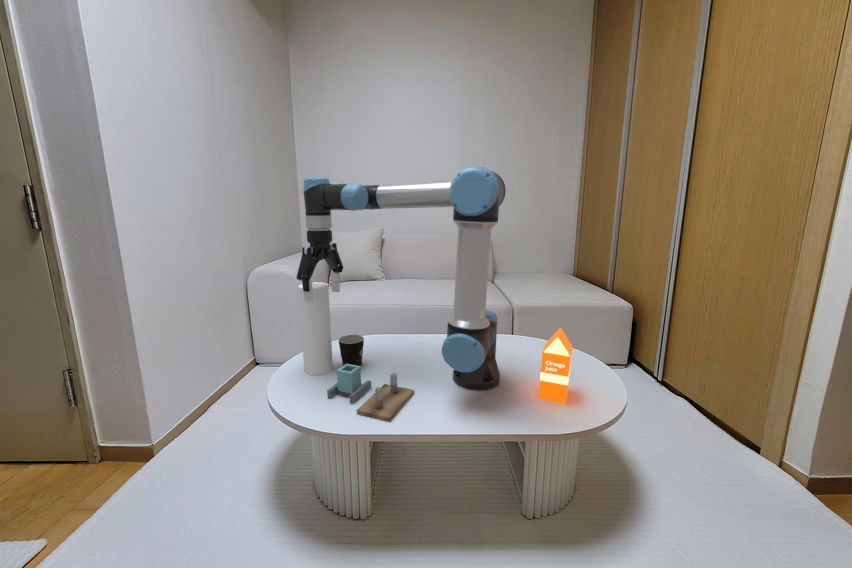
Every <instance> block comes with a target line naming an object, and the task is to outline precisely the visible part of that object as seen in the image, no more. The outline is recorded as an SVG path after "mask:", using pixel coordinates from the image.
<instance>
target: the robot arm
mask: <svg viewBox="0 0 852 568" xmlns="http://www.w3.org/2000/svg"><path fill="white" fill-rule="evenodd" d="M506 189H507V188H506V185H505V182H504V180H503V178H502V177H501V176H500V175H499V174H498V173H496V172H495V171H492V170H490V169H488V168H487V167H484V166H471V167H467V168H465V169H462V170H461V171H460V172H458V173H457V174H455V177H454V178H453V179H452V180H446V181H445V180H442V181H441V180H440V181H426V182H408V183H407V182H406V183H393V184H392V183H391V184H388V183H387V184H374V185H373V184H372V185H371V184H369V185H366V184H365V185H364V184H361V183H352V182H349V183H337V184H334V183H333V184H332V183H330V179H329V178H328V177H323V176H318V177H317V176H310V177H308V176H307V177H305V178H304V179H303V191H302V193H303V199H304V208H305V225H306V226H305V227H306V229H307V230H306V241H307V243H309V247H306V246H303V247H302V251H301V259H300V262H299V266H298V270H297V275H296V280H299V281H301V282H302V283H301V284H303V291H304V299H305V301H306V302H313V286H312V282H313V280H311V278H312V276H313V274H314V272H315V270H316V267H317V265H318V263H319V262H320V261H322V260H324V261H325V263H326V265H328V267H329V268H330V270H331V272H330V281H331V284H330V285H331V292H334V293H340V291H341V289H340V286H341V285H340V273H342V272H343V270H344V266H343V263H342V259H341V257H340V254H339V252H338V247H337V243H336V242H333V231H332V230H331V228H333V226H332V225H333V223H332V211H334V210H335V211H352V212H353V211H354V212H355V211H363V210H372V211H373V210H383V209H385V210H386V209H387V210H388V209H418V208H419V209H422V208H425V209H426V208H429V209H430V208H453V210H452V211H453V215H452V218H453V219H452V221H453V223H454V224H455V225H456V226H457V229H458V231H457V247H456V249H457V250H456V265H455V282H454V283H455V285H454V300H453V301H454V302H453V304H454V305H453V314H452V315H451V316H450V317H448V318H447V328H446V329H447V331H446V337H445V339H444V340H443V343H442V347H441V355H442V358H443V359H444V361H445V363H446V364H447V365H448V366H449V367H450V368H451V369H453V371H452V379H453V382H454V383H455V384H456V385H457V386H460V387H461V388H463V389H467V390H471V391H487V390H488V391H489V390H491V389H494V388H495V387H498V386H499V385H500V382H501V373H500V369H499V365H498V363H497V359H496V358H497V357H496V355H497V353H496V352H497V333H498V329H497V328H498V324H499V321H498V315H497V313H495V312H494V311H491V310H487V309H486V308H487V307H486V306H487V291H488V279H489V278H488V276H489V266H490V265H489V264H490V254H491V253H490V251H491V242H492V241H491V240H492V239H491V238H492V229H493V228H494V227H495V226H496V225H497V224H498V223H499V212H500V206H502V204H503V202H504V201H505V197H506V193H507V192H506Z"/></svg>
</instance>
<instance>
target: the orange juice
mask: <svg viewBox="0 0 852 568" xmlns="http://www.w3.org/2000/svg"><path fill="white" fill-rule="evenodd" d="M572 354H573V345H572V344H571V342H570V341H569V339H568V337H567V335H566V334H565V332H564V331H563V329H562V327H559V328H558V330H557V331H556V332H555V333H554V334H553V335H552V336H551V337H550V338H549V339H548V340H547V341H546V342H545V344H544V347H543V349H542V353H541V365H540V375H539V376H540V377H539V391H538V400H541V401H547V402H552V403H555V402H556V403H557V404H560V403H561V405H565V404H566V405H567V399H568V393H569V384H570V374H571V363H572Z"/></svg>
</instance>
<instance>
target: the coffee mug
mask: <svg viewBox="0 0 852 568" xmlns="http://www.w3.org/2000/svg"><path fill="white" fill-rule="evenodd" d="M364 341H365V337H364V336H363V335H359V334H346V335H343V336H341V337H339V338H338V345H339V350H340V356H341V363H342V366H344V365H345V364H351V365H356V366H361V367H362V365H363V364H362V363H363V354H364V353H363V352H364Z"/></svg>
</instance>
